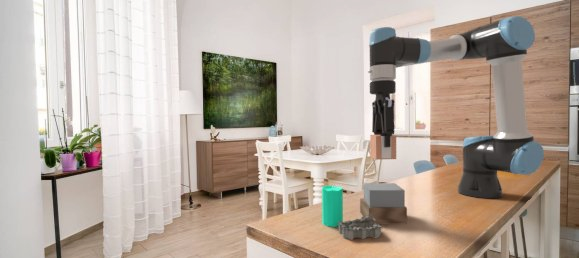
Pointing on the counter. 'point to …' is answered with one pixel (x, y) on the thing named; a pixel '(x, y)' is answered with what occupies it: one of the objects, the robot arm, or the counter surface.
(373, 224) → the egg carton
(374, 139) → the terracotta block
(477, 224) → the counter surface
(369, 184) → the gray tower middle block
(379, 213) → the tower base
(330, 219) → the candle
